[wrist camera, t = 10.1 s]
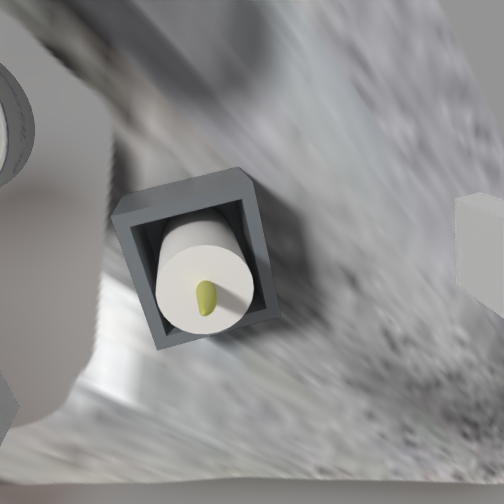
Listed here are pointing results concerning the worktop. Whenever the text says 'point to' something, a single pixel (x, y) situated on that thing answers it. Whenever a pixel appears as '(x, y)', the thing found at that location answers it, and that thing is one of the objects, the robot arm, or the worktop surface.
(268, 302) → the slate holder
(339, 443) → the worktop surface
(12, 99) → the teacup
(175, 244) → the candle
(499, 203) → the robot arm
